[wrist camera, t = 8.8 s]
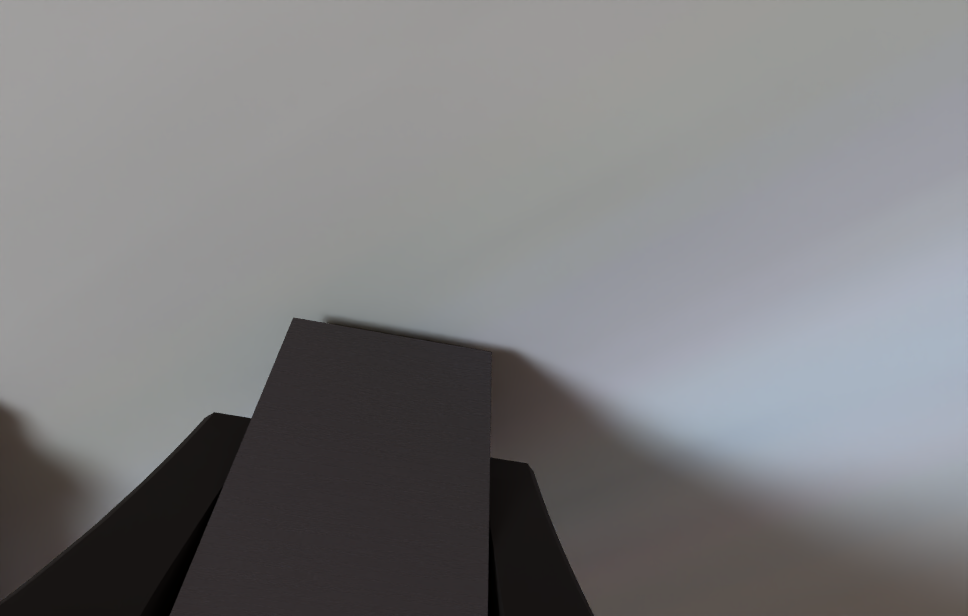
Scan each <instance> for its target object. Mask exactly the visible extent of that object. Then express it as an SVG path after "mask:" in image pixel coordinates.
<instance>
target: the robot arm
mask: <svg viewBox="0 0 968 616" xmlns="http://www.w3.org/2000/svg"><path fill="white" fill-rule="evenodd" d="M250 421H251V418H246V417H240V416H234V415H228V414H221V413H215V412H214V413H212V414H211V415H209V416H207V417H206V418H204V420H203V421H202V422H201V423H200V424H199V425H198V426H197V427H196V428H195V429H194V430H193V431H192V432H191V434H190V435H189V436H188V437H187V438H186V439H185V440H184V441H183V442H182V443H181V444H180V445H179V446H178V447H177V448H176V449H175V450H174V451H173V452H172V453H171V454H170V455H169V456H168V457H167V458H166V459H165V460H164V461H163V462H162V463H161V464H160V465H159V466H158V467H157V468H156V469H155V470H154V471H153V472H152V473H151V474H150V475H149V476H148V477H147V478H146V479H145V480H144V481H143V482H142V483H141V484H140V485H138V486H137V487H136V488H135V489H134V490H133V491H132V492H131V493H130V494H129V495H128V496H126V497H125V498H124V499H123V500H122V501H121V502H120V503H119V504H118V505H117V506H116V507H114V508H113V509H112V510H111V511H110V512H109V513H108V514H107V515H106V516H105V517H103V518H102V519H101V520H100V521H99V522H98V523H97V524H96V525H95V526H93V527H92V528H91V529H90V530H89V531H88V532H87V533H85V534H84V535H83V536H82V537H81V538H79V539H78V540H77V541H76V542H74V543H73V544H72V545H71V546H70V547H68V548H67V549H66V550H65V551H64V552H62V553H61V554H60V555H59V556H57V557H56V558H55V559H54V560H53V561H51V562H50V563H49V564H48V565H47V566H45V567H44V568H43V569H42V570H41V571H39V572H38V573H37V574H36V575H34V576H33V577H32V578H31V579H29V580H28V581H27V582H26V583H24V584H23V585H22V586H20V587H19V588H18V589H17V590H15V591H14V592H13V593H11V594H10V595H9V596H7V597H6V598H5V599H3V600H2V601H1V602H0V616H170V613H171V611H172V609H173V606H174V604H175V601H176V599H177V597H178V594H179V592H180V589H181V587H182V584H183V582H184V580H185V577H186V575H187V572H188V570H189V568H190V565H191V563H192V560H193V558H194V556H195V553H196V551H197V548H198V546H199V544H200V541H201V539H202V536H203V534H204V532H205V529H206V527H207V524H208V522H209V519H210V517H211V515H212V512H213V510H214V507H215V505H216V503H217V500H218V498H219V495H220V493H221V491H222V488H223V486H224V483H225V481H226V479H227V476H228V474H229V471H230V469H231V467H232V464H233V462H234V459H235V457H236V454H237V452H238V450H239V447H240V445H241V442H242V440H243V438H244V435H245V433H246V430H247V428H248V426H249V423H250ZM488 616H594V615H593V613H592V611H591V609H590V607H589V605H588V602H587V600H586V598H585V596H584V594H583V592H582V590H581V588H580V586H579V583H578V581H577V579H576V577H575V575H574V573H573V571H572V569H571V567H570V564H569V562H568V560H567V558H566V555H565V553H564V551H563V548H562V546H561V544H560V541H559V539H558V536H557V534H556V532H555V529H554V527H553V524H552V522H551V519H550V517H549V514H548V511H547V509H546V506H545V504H544V501H543V498H542V495H541V492H540V490H539V487H538V484H537V481H536V478H535V475H534V472H533V470H532V469H531V468H530V466H529V465H528V464H527V463H520V462H514V461H508V460H502V459H496V458H490V488H489V558H488Z"/></svg>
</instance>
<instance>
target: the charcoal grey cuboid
mask: <svg viewBox="0 0 968 616" xmlns="http://www.w3.org/2000/svg"><path fill="white" fill-rule="evenodd" d="M490 418H491V352H488V351H483V350H477V349H471V348H465V347H460V346H454V345H448V344H442V343H437V342H431V341H425V340H419V339H414V338H408V337H402V336H396V335H391V334H385V333H379V332H373V331H368V330H362V329H356V328H351V327H345V326H339V325H333V324H328V323H322V322H316V321H310V320H305V319H299V318H293V320H292V322H291V324H290V327H289V329H288V332H287V334H286V336H285V339H284V341H283V344H282V346H281V349H280V351H279V353H278V356H277V358H276V361H275V363H274V365H273V368H272V370H271V373H270V375H269V377H268V380H267V382H266V385H265V387H264V389H263V392H262V394H261V397H260V399H259V401H258V404H257V406H256V409H255V411H254V414H253V416H252V418H251V421H250V423H249V426H248V428H247V430H246V433H245V435H244V438H243V440H242V442H241V445H240V447H239V450H238V452H237V454H236V457H235V459H234V462H233V464H232V467H231V469H230V471H229V474H228V476H227V479H226V481H225V483H224V486H223V488H222V491H221V493H220V495H219V498H218V500H217V503H216V505H215V507H214V510H213V512H212V515H211V517H210V519H209V522H208V524H207V527H206V529H205V532H204V534H203V536H202V539H201V541H200V544H199V546H198V548H197V551H196V553H195V556H194V558H193V560H192V563H191V565H190V568H189V570H188V572H187V575H186V577H185V580H184V582H183V584H182V587H181V589H180V592H179V594H178V597H177V599H176V601H175V604H174V606H173V609H172V611H171V613H170V616H488V558H489V488H490Z"/></svg>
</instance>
